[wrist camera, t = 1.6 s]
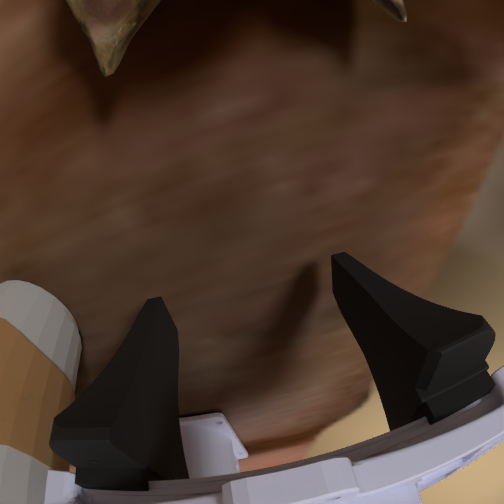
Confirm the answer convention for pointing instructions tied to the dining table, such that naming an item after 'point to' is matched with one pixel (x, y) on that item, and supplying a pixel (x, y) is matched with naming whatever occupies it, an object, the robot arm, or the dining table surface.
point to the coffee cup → (33, 386)
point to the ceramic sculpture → (134, 15)
